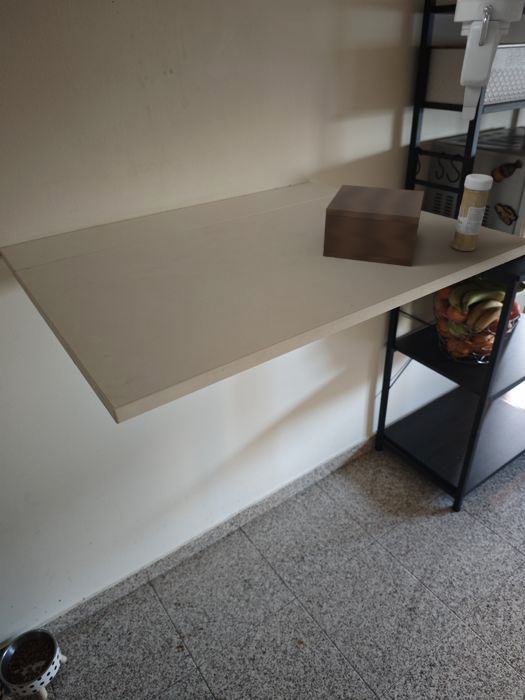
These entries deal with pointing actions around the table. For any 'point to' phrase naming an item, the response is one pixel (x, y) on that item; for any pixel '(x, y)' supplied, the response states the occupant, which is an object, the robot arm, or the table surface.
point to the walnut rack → (373, 224)
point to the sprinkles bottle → (471, 211)
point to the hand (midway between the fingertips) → (468, 115)
